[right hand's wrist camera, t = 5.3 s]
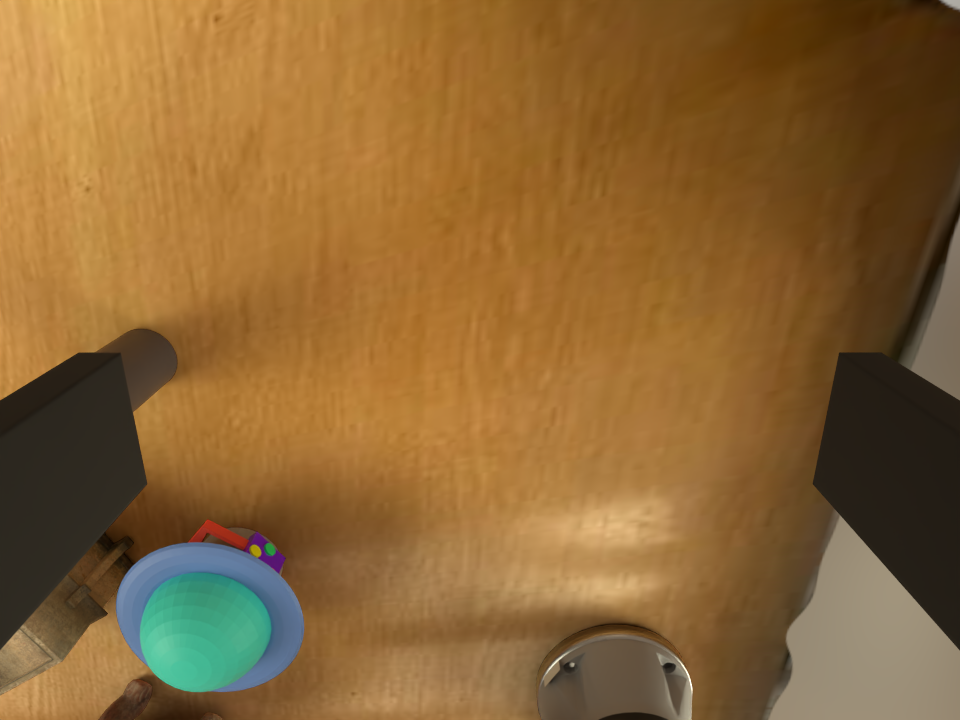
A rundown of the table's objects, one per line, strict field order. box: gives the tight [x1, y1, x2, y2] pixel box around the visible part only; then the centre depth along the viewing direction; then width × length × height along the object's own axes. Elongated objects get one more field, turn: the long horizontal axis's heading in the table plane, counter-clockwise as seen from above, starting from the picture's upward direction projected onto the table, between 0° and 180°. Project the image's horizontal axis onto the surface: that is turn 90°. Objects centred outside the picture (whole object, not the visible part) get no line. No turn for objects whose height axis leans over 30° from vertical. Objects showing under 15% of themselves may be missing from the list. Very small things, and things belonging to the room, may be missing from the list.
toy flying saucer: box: [116, 519, 304, 692], centre depth 56 cm, size 15×15×14 cm
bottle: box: [95, 329, 177, 412], centre depth 46 cm, size 5×5×21 cm
